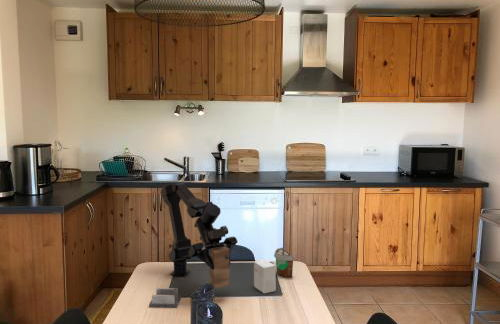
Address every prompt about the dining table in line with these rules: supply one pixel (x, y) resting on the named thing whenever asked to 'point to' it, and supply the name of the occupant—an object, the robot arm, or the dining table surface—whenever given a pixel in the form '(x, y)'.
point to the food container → (283, 263)
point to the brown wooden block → (219, 267)
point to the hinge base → (165, 298)
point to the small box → (265, 276)
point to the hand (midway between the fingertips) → (221, 267)
